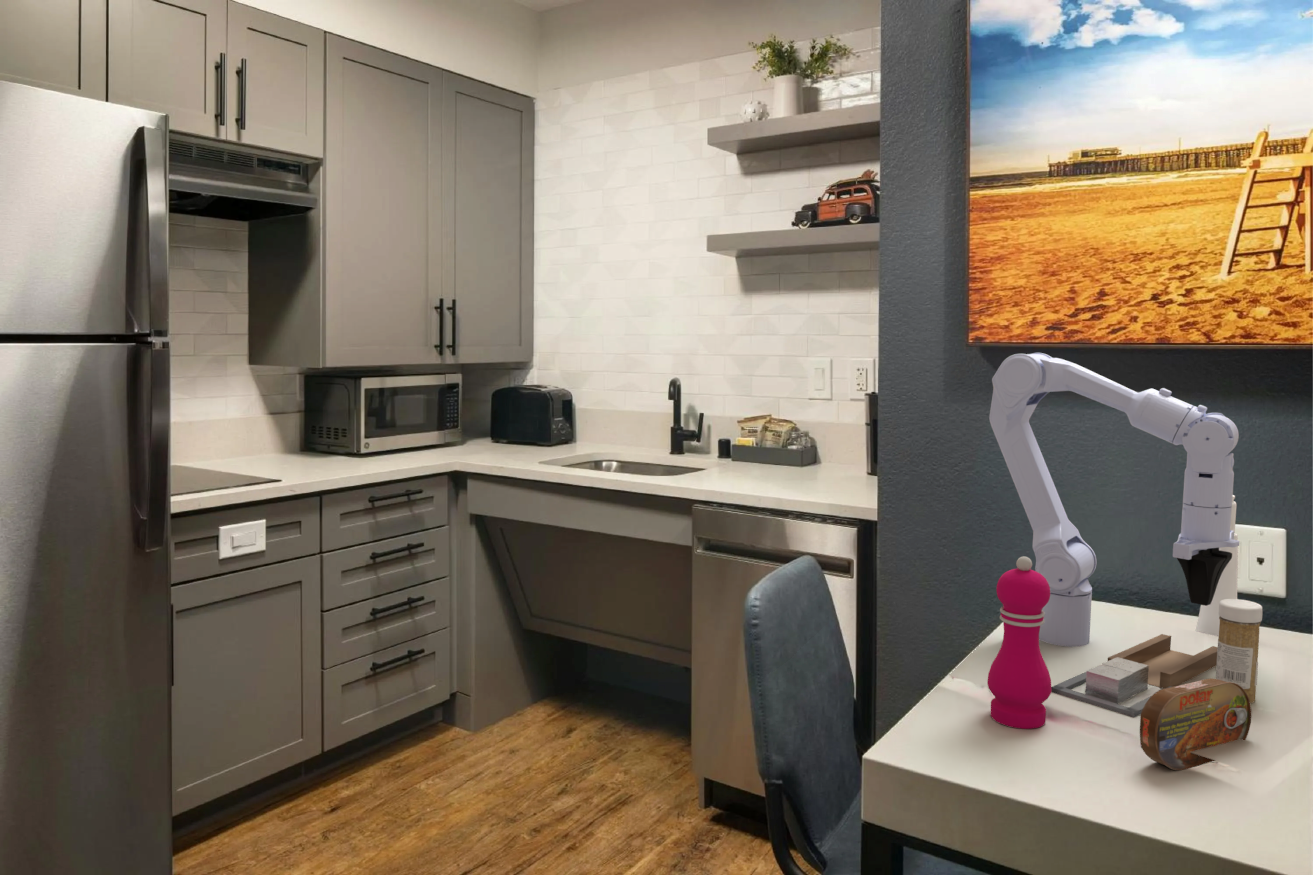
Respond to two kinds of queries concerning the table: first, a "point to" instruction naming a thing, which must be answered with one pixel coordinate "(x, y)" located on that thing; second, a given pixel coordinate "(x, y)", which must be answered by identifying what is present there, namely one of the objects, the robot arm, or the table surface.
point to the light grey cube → (1109, 683)
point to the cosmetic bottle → (1221, 587)
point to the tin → (1193, 721)
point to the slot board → (1169, 661)
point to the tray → (1080, 679)
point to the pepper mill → (1020, 650)
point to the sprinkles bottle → (1239, 644)
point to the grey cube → (1136, 668)
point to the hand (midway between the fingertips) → (1200, 603)
